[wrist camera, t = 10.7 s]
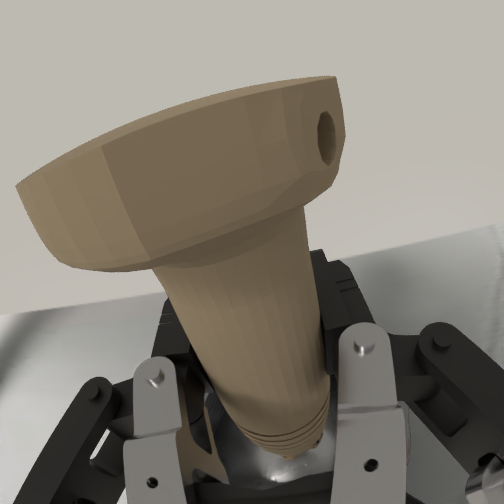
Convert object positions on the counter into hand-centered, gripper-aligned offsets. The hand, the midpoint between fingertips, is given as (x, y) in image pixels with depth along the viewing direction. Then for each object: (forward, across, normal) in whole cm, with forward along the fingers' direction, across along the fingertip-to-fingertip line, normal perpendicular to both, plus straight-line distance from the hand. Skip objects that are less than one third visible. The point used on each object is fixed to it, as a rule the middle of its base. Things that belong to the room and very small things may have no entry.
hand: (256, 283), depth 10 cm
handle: (-3, 0, +9) cm, 9 cm away
